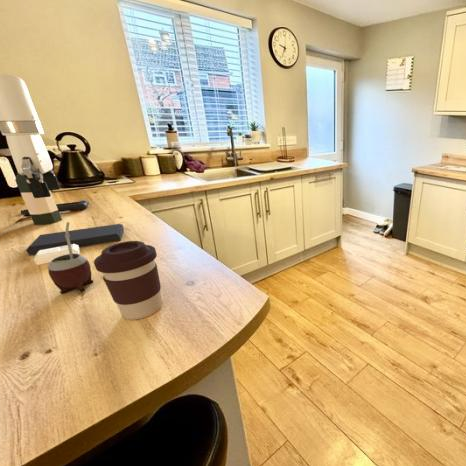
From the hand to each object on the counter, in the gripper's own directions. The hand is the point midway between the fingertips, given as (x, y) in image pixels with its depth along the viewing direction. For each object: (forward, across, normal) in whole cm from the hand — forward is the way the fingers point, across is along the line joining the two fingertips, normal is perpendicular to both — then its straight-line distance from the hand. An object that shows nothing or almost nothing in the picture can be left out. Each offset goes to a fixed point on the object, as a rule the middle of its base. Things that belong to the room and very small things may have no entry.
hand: (48, 193), depth 81 cm
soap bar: (+19, +2, -2) cm, 19 cm away
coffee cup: (+19, +45, +19) cm, 52 cm away
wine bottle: (+18, -41, -14) cm, 47 cm away
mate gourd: (+19, +26, +5) cm, 32 cm away
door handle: (+18, -58, -14) cm, 62 cm away
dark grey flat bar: (+18, -10, +1) cm, 21 cm away
